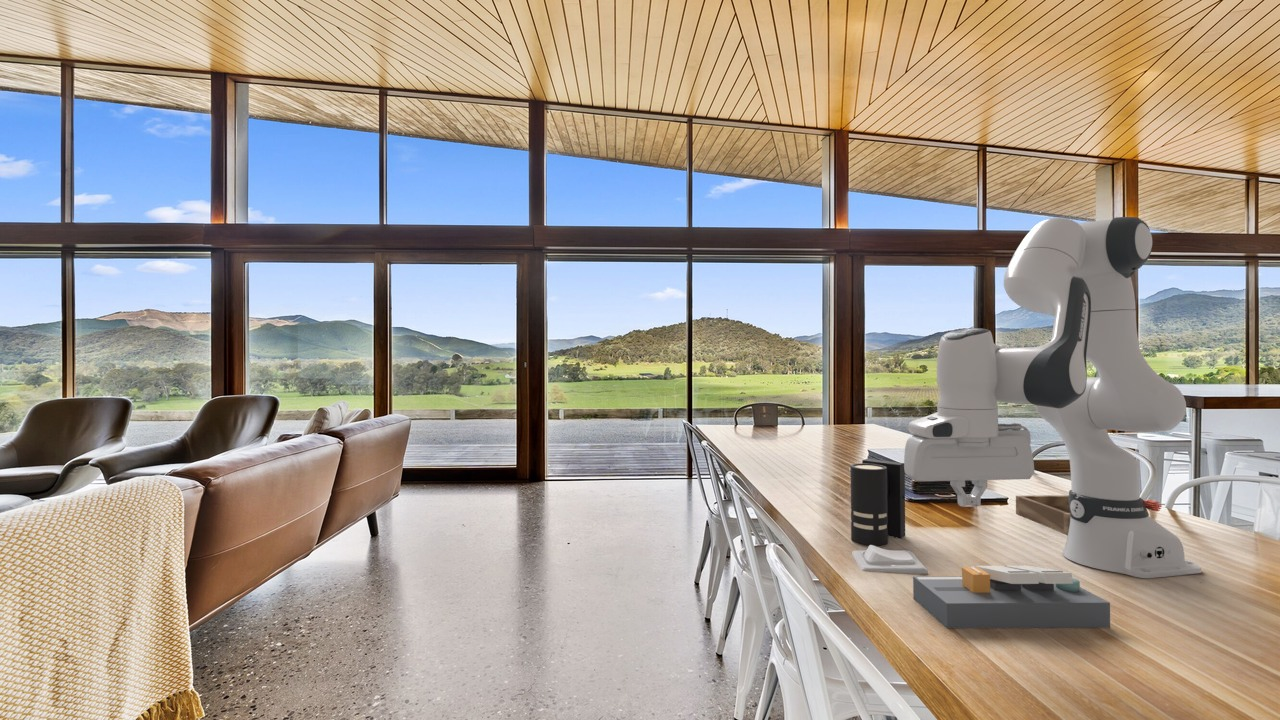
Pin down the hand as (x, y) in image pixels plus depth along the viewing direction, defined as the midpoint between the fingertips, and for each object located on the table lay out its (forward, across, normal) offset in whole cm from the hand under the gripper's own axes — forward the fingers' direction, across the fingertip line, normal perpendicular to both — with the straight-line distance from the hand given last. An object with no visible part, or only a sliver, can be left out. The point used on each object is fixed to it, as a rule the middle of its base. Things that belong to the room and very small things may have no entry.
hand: (969, 505), depth 93 cm
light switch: (+19, +4, -23) cm, 31 cm away
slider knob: (+14, -1, 0) cm, 14 cm away
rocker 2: (+13, -12, 0) cm, 17 cm away
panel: (+18, -6, 0) cm, 19 cm away
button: (+14, -17, -1) cm, 22 cm away
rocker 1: (+13, -6, 0) cm, 14 cm away
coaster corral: (+20, -56, -51) cm, 79 cm away
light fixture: (+19, 0, -39) cm, 44 cm away
